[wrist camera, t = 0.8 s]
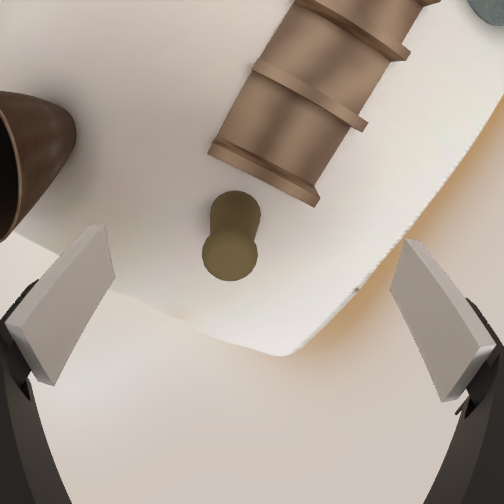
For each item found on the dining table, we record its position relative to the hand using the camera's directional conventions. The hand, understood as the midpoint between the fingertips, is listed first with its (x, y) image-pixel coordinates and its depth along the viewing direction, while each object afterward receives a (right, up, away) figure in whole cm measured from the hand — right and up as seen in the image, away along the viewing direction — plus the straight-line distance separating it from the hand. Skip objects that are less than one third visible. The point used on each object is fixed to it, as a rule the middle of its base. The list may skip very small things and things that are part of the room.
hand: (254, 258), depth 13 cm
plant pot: (-25, +15, +19) cm, 35 cm away
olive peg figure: (-2, +5, +25) cm, 25 cm away
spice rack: (+8, +21, +15) cm, 27 cm away
